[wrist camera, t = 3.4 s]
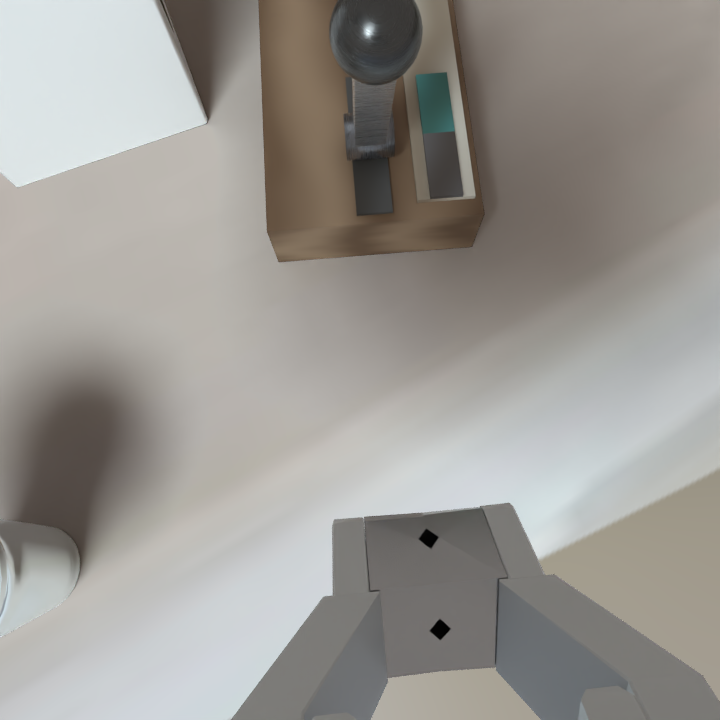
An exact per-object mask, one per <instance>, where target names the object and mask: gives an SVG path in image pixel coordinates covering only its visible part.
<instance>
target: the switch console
mask: <svg viewBox="0 0 720 720" xmlns="http://www.w3.org/2000/svg"><path fill="white" fill-rule="evenodd" d="M337 1H338V0H259V27H260V54H261V81H262V109H263V136H264V163H265V191H266V218H267V233H268V235H269V238H270V241H271V243H272V246H273V248H274V251H275V254H276V256H277V259H278V261H279V262H286V261H299V260H311V259H324V258H336V257H349V256H362V255H374V254H387V253H399V252H412V251H425V250H437V249H450V248H462V247H472V245H473V242H474V240H475V237H476V234H477V232H478V229H479V227H480V224H481V221H482V219H483V216H484V209H483V202H482V196H481V189H480V182H479V175H478V168H477V162H476V155H475V148H474V141H473V134H472V128H471V121H470V114H469V107H468V100H467V93H466V87H465V80H464V73H463V66H462V59H461V53H460V46H459V39H458V32H457V25H456V19H455V12H454V5H453V0H415V2H416V4H417V6H418V8H419V11H420V14H421V18H422V26H423V35H422V43H421V47H420V50H419V52H418V55H417V57H416V59H415V61H414V63H413V64H412V66H411V67H410V68H409V69H408V70H407V72H406V73H405V74H403V75H402V76H401V77H400V78H398V79H397V81H396V86H395V92H394V98H393V104H392V112H393V119H394V132H395V155H394V157H388V158H375V159H363V160H350V161H347V155H346V142H345V130H344V116H343V114H344V113H353V93H352V78H351V77H350V76H349V75H347V74H346V73H345V72H344V71H343V70H342V68H341V67H340V66H339V64H338V63H337V61H336V59H335V57H334V55H333V52H332V49H331V45H330V39H329V25H330V19H331V15H332V12H333V9H334V6H335V5H336V3H337Z"/></svg>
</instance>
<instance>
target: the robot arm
mask: <svg viewBox="0 0 720 720" xmlns="http://www.w3.org/2000/svg"><path fill="white" fill-rule="evenodd" d="M364 524H365V529H364ZM365 537H366V539H365ZM332 544H333V596H325V597H323V598H322V599H321V601H320V602H319V603H318V605H317V606H316V607H315V609H314V610H313V611H312V613H311V614H310V615H309V617H308V618H307V619H306V621H305V622H304V623H303V625H302V626H301V627H300V629H299V630H298V631H297V633H296V634H295V635H294V637H293V638H292V639H291V641H290V642H289V643H288V645H287V646H286V647H285V649H284V650H283V651H282V653H281V654H280V655H279V657H278V658H277V659H276V661H275V662H274V663H273V665H272V666H271V667H270V669H269V670H268V671H267V673H266V674H265V675H264V677H263V678H262V679H261V681H260V682H259V683H258V685H257V686H256V687H255V689H254V690H253V691H252V693H251V694H250V695H249V697H248V698H247V699H246V701H245V702H244V703H243V705H242V706H241V707H240V709H239V710H238V711H237V713H236V714H235V715H234V716H233V718H232V719H231V720H371V717H372V715H373V713H374V711H375V709H376V707H377V704H378V702H379V700H380V698H381V696H382V693H383V691H384V689H385V687H386V684H387V682H388V678H391V677H399V676H406V675H415V674H422V673H430V672H438V671H450V670H464V669H479V668H494V667H496V671H497V672H498V673H499V674H500V675H501V676H502V677H503V678H504V680H505V681H506V682H507V683H508V684H509V685H510V686H511V687H512V688H513V689H514V691H515V692H516V693H517V694H518V695H519V696H520V697H521V698H522V699H523V700H524V701H525V703H526V704H527V705H528V706H529V707H530V708H531V709H532V710H533V711H534V712H535V714H536V715H537V716H538V717H539V718H540V719H541V720H720V701H719V700H718V698H717V697H716V695H715V694H714V692H713V691H712V689H711V688H710V686H709V685H708V683H707V682H706V680H705V678H704V677H703V675H701V674H700V673H698V672H697V671H695V670H694V669H692V668H691V667H689V666H688V665H687V664H685V663H684V662H682V661H681V660H679V659H678V658H676V657H675V656H673V655H672V654H671V653H669V652H668V651H666V650H665V649H663V648H662V647H660V646H659V645H657V644H656V643H654V642H653V641H651V640H650V639H649V638H647V637H646V636H644V635H643V634H641V633H640V632H638V631H637V630H635V629H634V628H632V627H631V626H630V625H628V624H627V623H625V622H624V621H622V620H621V619H619V618H618V617H616V616H615V615H613V614H612V613H610V612H609V611H608V610H606V609H605V608H603V607H602V606H600V605H599V604H597V603H596V602H594V601H593V600H591V599H590V598H588V597H587V596H586V595H584V594H583V593H581V592H580V591H578V590H577V589H575V588H574V587H572V586H571V585H569V584H568V583H566V582H565V581H563V580H562V579H561V578H559V577H558V576H556V575H554V574H553V575H545V574H544V571H543V569H542V567H541V565H540V563H539V561H538V558H537V556H536V554H535V552H534V550H533V548H532V545H531V543H530V541H529V539H528V537H527V535H526V533H525V530H524V528H523V526H522V524H521V522H520V520H519V518H518V515H517V513H516V511H515V509H514V507H513V506H512V505H511V504H510V503H503V504H495V505H486V506H480V507H474V508H464V509H454V510H444V511H435V512H425V513H411V514H397V515H383V516H369V517H364V520H363V518H362V517H361V518H348V519H335V520H334V521H333V525H332Z"/></svg>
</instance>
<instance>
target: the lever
mask: <svg viewBox="0 0 720 720" xmlns="http://www.w3.org/2000/svg"><path fill="white" fill-rule="evenodd" d="M422 35H423V26H422V18H421V14H420V11H419V8H418V6H417V4H416V2H415V0H338V1H337V3H336V5H335V6H334V9H333V12H332V15H331V19H330V25H329V39H330V45H331V49H332V52H333V55H334V57H335V59H336V61H337V63H338V64H339V66H340V67H341V68H342V70H343V71H344V72H345V73H346V74H347V75H349V76H350V77H351V78H352V93H353V113H344V114H343V116H344V130H345V142H346V155H347V161H350V160H363V159H375V158H388V157H394V155H395V132H394V119H393V112H392V104H393V98H394V92H395V86H396V81H397V79H398V78H400V77H401V76H402V75H403V74H405V73H406V72H407V70H408V69H409V68H410V67H411V66H412V64H413V63H414V61H415V59H416V57H417V55H418V52H419V50H420V47H421V43H422Z"/></svg>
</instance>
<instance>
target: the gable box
mask: <svg viewBox="0 0 720 720" xmlns="http://www.w3.org/2000/svg"><path fill="white" fill-rule="evenodd" d="M207 121H208V119H207V116H206V113H205V110H204V108H203V105H202V102H201V100H200V97H199V94H198V91H197V89H196V86H195V83H194V81H193V78H192V75H191V72H190V70H189V67H188V64H187V61H186V59H185V56H184V53H183V51H182V48H181V45H180V42H179V40H178V37H177V34H176V32H175V29H174V26H173V23H172V21H171V18H170V15H169V13H168V10H167V7H166V4H165V2H164V0H0V173H1V174H2V175H3V176H4V177H5V178H6V179H8V180H9V181H10V182H11V183H12V184H13V185H14V186H17V187H21V186H24V185H27V184H30V183H32V182H35V181H38V180H41V179H44V178H47V177H50V176H53V175H56V174H59V173H62V172H65V171H68V170H71V169H74V168H77V167H80V166H83V165H86V164H89V163H91V162H94V161H97V160H100V159H103V158H106V157H109V156H112V155H115V154H118V153H121V152H124V151H127V150H130V149H133V148H136V147H139V146H142V145H145V144H148V143H150V142H153V141H156V140H159V139H162V138H165V137H168V136H171V135H174V134H177V133H180V132H183V131H186V130H189V129H192V128H195V127H198V126H201V125H204V124H206V123H207Z"/></svg>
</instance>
